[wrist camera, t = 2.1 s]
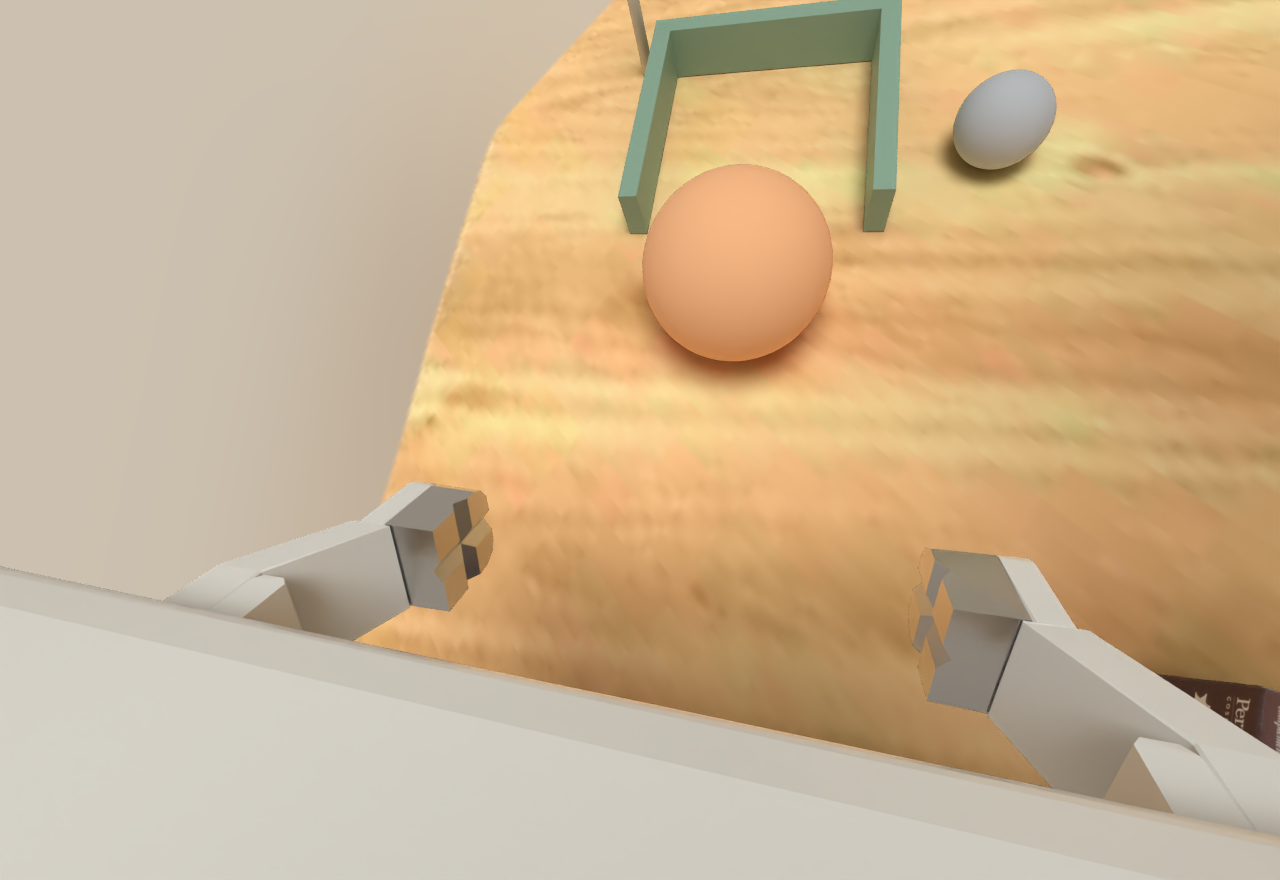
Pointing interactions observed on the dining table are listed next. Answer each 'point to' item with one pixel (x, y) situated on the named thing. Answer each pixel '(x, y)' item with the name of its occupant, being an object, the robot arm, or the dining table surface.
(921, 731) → the dining table surface
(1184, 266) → the dining table surface
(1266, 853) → the robot arm
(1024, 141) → the grey ball
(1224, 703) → the box
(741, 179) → the ball
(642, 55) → the green u-shaped frame
